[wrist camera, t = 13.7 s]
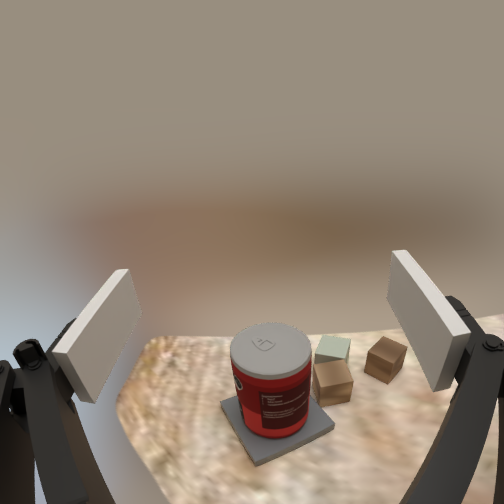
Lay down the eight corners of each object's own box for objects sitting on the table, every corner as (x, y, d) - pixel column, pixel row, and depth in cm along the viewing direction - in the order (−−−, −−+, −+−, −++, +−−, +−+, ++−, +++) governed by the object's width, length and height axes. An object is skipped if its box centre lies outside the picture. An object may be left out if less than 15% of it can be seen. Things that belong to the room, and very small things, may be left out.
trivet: (290, 379, 41) (290, 373, 40) (334, 428, 32) (335, 423, 32) (221, 407, 37) (220, 401, 37) (256, 466, 29) (255, 461, 28)
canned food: (262, 383, 39) (255, 314, 35) (319, 402, 35) (324, 333, 30) (227, 423, 33) (212, 356, 29) (289, 450, 29) (289, 385, 25)
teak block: (341, 380, 39) (344, 359, 38) (349, 401, 36) (353, 381, 34) (312, 385, 39) (313, 364, 38) (318, 407, 36) (320, 387, 34)
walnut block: (379, 357, 42) (383, 336, 41) (401, 368, 39) (407, 346, 38) (364, 372, 40) (367, 351, 38) (387, 384, 37) (393, 363, 36)
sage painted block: (321, 355, 44) (322, 334, 43) (348, 360, 43) (350, 339, 41) (313, 374, 41) (314, 353, 40) (342, 379, 40) (344, 358, 38)
